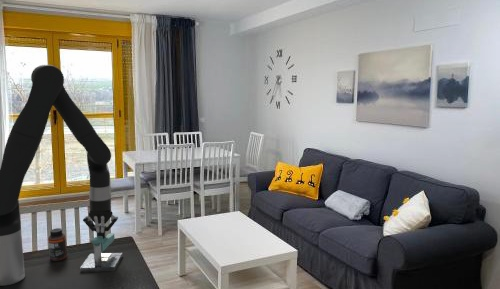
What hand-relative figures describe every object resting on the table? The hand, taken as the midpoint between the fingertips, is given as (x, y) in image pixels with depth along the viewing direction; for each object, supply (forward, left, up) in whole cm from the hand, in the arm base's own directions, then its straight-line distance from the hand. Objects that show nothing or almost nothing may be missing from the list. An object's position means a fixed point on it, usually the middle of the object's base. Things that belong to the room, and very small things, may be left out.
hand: (101, 241), depth 152 cm
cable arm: (+2, -5, -1) cm, 5 cm away
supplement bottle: (-16, 0, -7) cm, 18 cm away
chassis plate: (+2, -6, -7) cm, 9 cm away
